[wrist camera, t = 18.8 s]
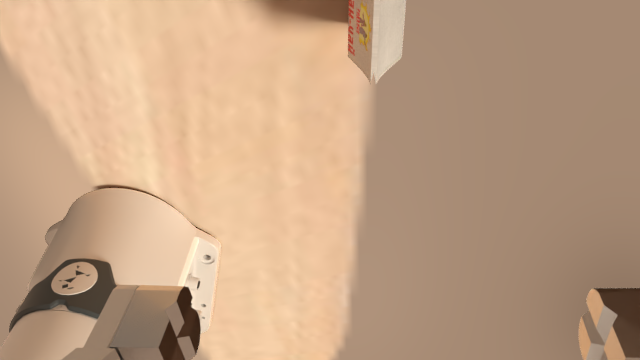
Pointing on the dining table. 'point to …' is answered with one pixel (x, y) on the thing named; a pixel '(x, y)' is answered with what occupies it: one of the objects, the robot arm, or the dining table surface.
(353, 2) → the tea bag
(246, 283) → the dining table surface
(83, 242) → the robot arm
